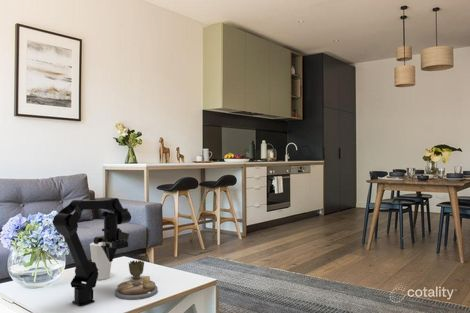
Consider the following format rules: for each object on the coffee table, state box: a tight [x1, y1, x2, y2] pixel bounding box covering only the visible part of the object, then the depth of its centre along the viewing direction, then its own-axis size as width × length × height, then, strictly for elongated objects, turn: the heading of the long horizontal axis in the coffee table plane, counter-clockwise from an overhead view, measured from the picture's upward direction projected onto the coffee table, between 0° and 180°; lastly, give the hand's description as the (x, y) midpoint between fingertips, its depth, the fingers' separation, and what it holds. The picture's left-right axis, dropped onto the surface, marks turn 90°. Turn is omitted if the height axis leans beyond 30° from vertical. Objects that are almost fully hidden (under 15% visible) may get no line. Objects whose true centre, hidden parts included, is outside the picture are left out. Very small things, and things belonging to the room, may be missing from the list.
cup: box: [89, 241, 112, 281], centre depth 198 cm, size 11×10×17 cm
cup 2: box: [128, 260, 145, 280], centre depth 197 cm, size 8×7×8 cm
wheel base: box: [114, 284, 158, 301], centre depth 176 cm, size 18×18×2 cm
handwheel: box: [116, 275, 156, 295], centre depth 176 cm, size 16×16×6 cm
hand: (110, 261), depth 178 cm, fingers closed
